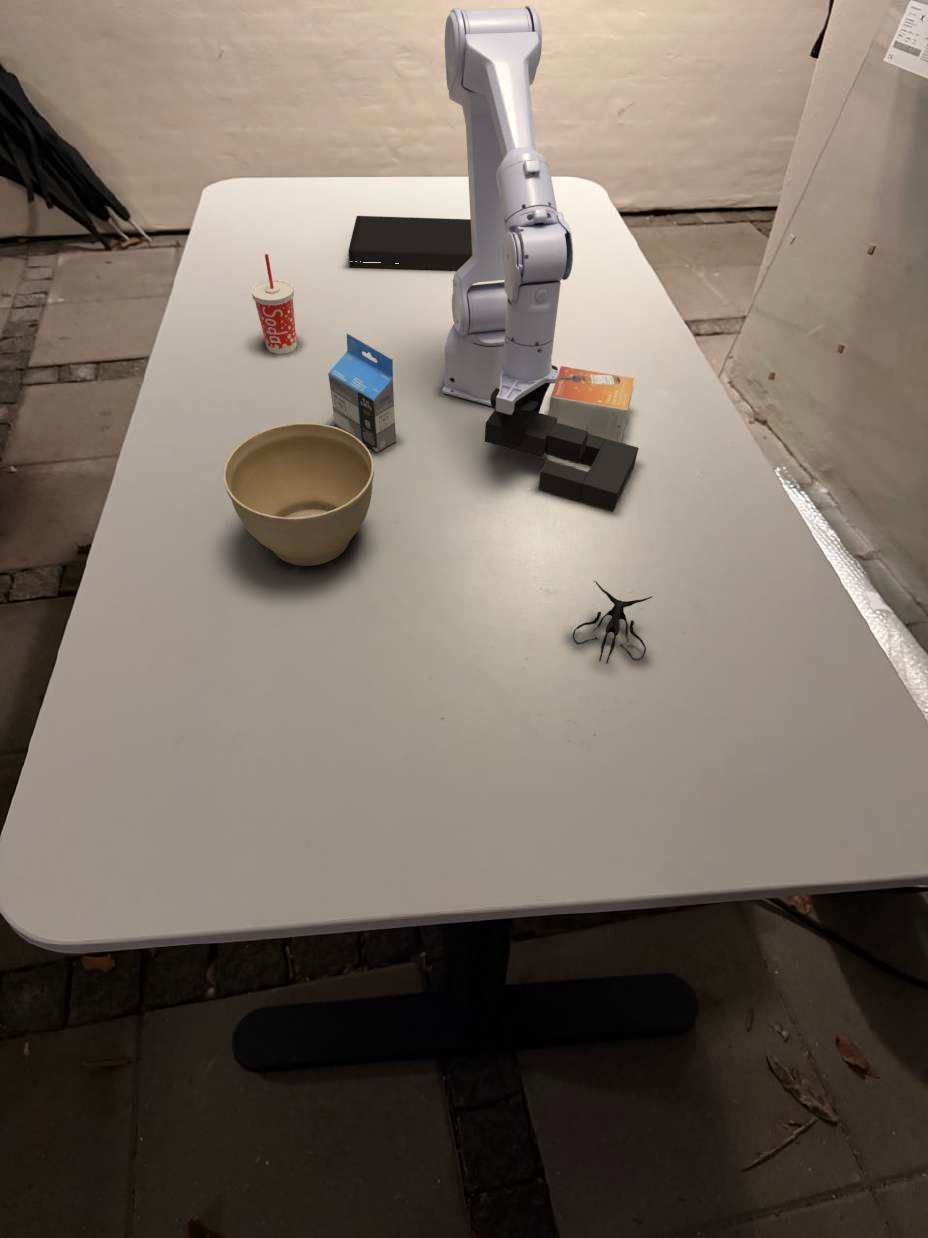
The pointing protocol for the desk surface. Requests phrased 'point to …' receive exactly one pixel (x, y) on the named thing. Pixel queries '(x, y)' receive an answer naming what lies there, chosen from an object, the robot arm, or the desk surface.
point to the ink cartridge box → (364, 395)
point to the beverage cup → (276, 313)
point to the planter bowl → (301, 489)
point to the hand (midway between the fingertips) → (520, 430)
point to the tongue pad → (541, 437)
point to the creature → (614, 622)
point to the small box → (592, 401)
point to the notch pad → (592, 474)
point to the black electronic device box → (410, 243)
